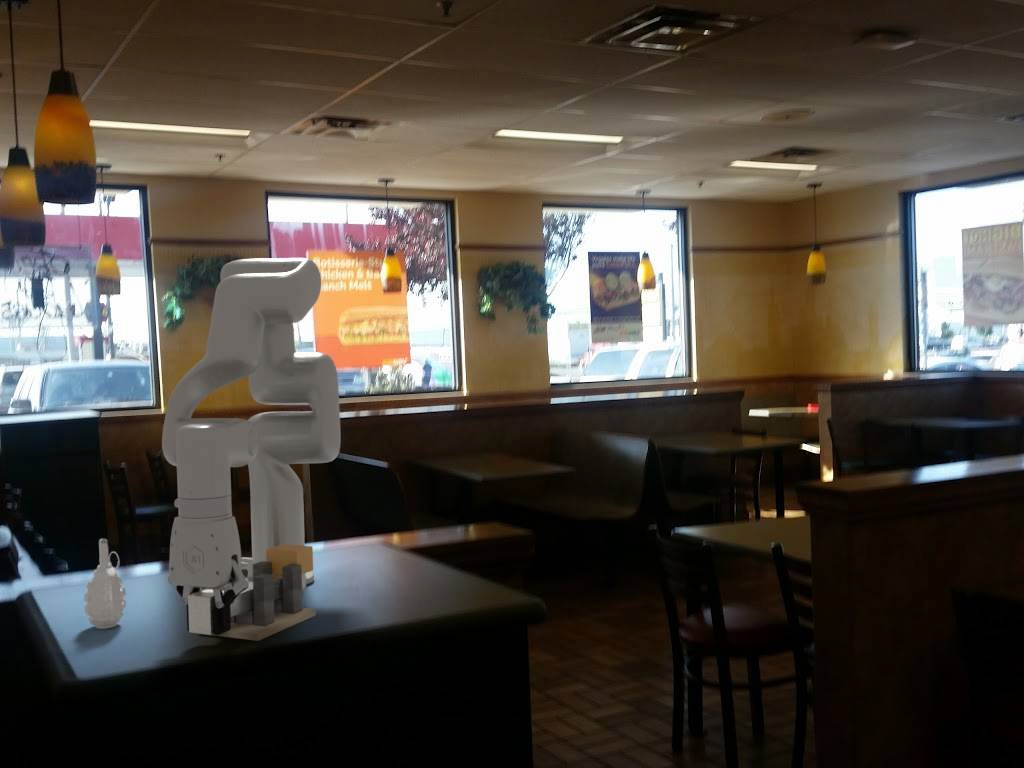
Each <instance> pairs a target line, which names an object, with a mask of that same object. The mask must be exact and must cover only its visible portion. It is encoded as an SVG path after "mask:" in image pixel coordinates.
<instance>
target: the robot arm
mask: <svg viewBox="0 0 1024 768" xmlns="http://www.w3.org/2000/svg"><path fill="white" fill-rule="evenodd" d="M219 276H220V278H219V279H220V282H219V283H218V284H217V286H216V289H215V294H214V300H213V304H212V305H213V306H212V311H211V318H210V324H209V330H208V337H207V341H206V343H207V344H206V349H205V350H206V351H205V353H204V356H203V357H202V358H201V359H200V360H199V361H198V362H197V363H196V364H194V365H193V366H192V367H191V368H189V370H188V371H187V372H186V373H185V374H184V375H183V376H182V378H181V379H180V380H179V382H178V383H177V384H176V386H174V388H173V390H172V392H171V395H170V397H169V398H168V402H167V406H166V412H165V418H164V423H163V427H162V435H161V437H162V438H161V448H162V454H163V456H164V458H165V460H166V461H167V462H168V463H169V464H170V465H172V466H174V467H176V475H177V476H176V477H177V478H176V479H177V480H176V481H177V483H176V484H177V498H176V499H175V500H174V504H173V505H174V507H175V508H178V516H175V517H174V520H173V523H172V528H171V533H170V534H171V535H170V544H169V575H168V577H167V582H168V583H169V584H170V586H172V587H173V588H174V589H175V590H176V591H177V593H178V594H179V595H180V597H181V598H182V599H181V602H182V604H183V605H185V607H186V629H187V632H188V633H190V632H189V610H188V595H190V594H193V593H196V592H199V591H202V590H203V589H212V590H213V593H214V598H215V603H216V607H215V608H213V633H214V635H213V636H215V635H220V634H222V633H225V632H227V631H229V630H230V629H231V609H230V604H233V603H234V600H235V599H236V598H237V596H238V595H239V594H240V593H242V592H243V591H244V590H246V589H247V588H248V587H249V584H248V583H251V582H253V564H255V563H258V562H261V561H265V562H266V549H269V548H272V547H275V546H278V545H281V544H287V545H300V546H306V544H305V540H306V539H305V512H304V511H305V510H304V509H305V508H304V507H305V506H304V504H305V503H304V488H303V483H302V482H301V479H300V478H299V476H298V475H297V473H296V472H295V471H294V470H293V468H292V467H291V466H290V465H294V464H324V463H330V462H333V461H334V460H335V459H336V458H338V455H339V454H340V451H341V450H340V449H341V442H342V441H341V439H342V438H341V436H342V435H341V416H340V397H339V396H340V393H339V392H340V391H339V378H338V371H337V367H336V364H335V362H334V360H333V358H332V357H331V356H329V355H328V354H326V353H324V352H316V351H314V352H313V351H310V352H309V351H306V352H305V351H304V352H298V351H297V350H296V347H295V346H296V345H295V343H296V342H295V328H294V324H297V323H299V322H300V321H302V320H304V318H305V317H306V316H307V314H308V313H310V310H311V309H312V308H313V307H314V306H315V304H316V303H317V302H318V300H319V298H320V294H321V290H322V277H321V276H322V275H321V272H320V269H319V267H318V265H317V263H316V262H314V261H313V260H312V259H310V258H305V257H288V258H287V257H285V258H284V257H282V258H281V257H280V258H277V257H276V258H274V257H273V258H268V257H267V258H266V257H265V258H263V257H261V258H243V259H236V260H232V261H230V262H227V263H225V264H224V265H223V266H222V268H221V270H220V275H219ZM246 377H248V383H249V392H250V395H251V397H252V398H253V400H254V401H255V402H257V403H259V404H263V405H269V406H270V405H271V406H272V405H273V406H275V405H281V406H284V405H288V406H289V405H290V406H294V405H308V406H309V407H310V408H311V410H312V411H267V412H260V413H257V414H254V415H253V416H251V417H249V419H244V418H239V417H238V418H236V417H234V418H233V417H231V418H230V417H229V418H227V417H226V418H224V417H222V418H218V417H210V418H209V417H208V418H206V417H205V418H203V417H200V418H199V417H198V418H197V417H196V418H193V417H192V416H193V413H194V411H195V409H196V408H197V407H198V405H199V404H201V402H202V401H203V400H204V399H206V397H208V396H209V395H210V394H212V393H215V392H216V391H217V390H220V389H223V388H225V387H227V386H229V385H231V384H233V383H235V382H237V381H240V380H242V379H244V378H246ZM245 466H248V474H249V490H250V492H249V493H250V523H251V524H250V525H251V529H250V530H251V557H248V556H247V557H245V556H242V548H241V543H240V542H241V541H240V535H239V529H238V525H237V520H236V516H234V515H233V511H232V509H233V507H232V483H231V482H232V479H231V468H239V467H245ZM242 570H247V575H246V576H245V575H244V573H242V572H243V571H242ZM272 575H274V574H272ZM314 580H315V574H314V572H313V571H310V572H307V573H306V586H307V585H309V584H311V583H312V582H314ZM231 583H234V586H233V587H232V585H231ZM223 590H224V595H223V593H222V591H223Z"/></svg>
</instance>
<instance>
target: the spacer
mask: <svg viewBox="0 0 1024 768" xmlns="http://www.w3.org/2000/svg"><path fill="white" fill-rule="evenodd" d="M313 549H314V548H313V546H312V545H305V546H300V545H287V544H281V545H278V546H275V547H272V548H269V549H266V562H272V574H278V575H282V567H283V566H286V565H289V564H300V565H301V570H302V574H305V573H307V572H310V571H311V572H313V571H314V558H313V557H314V555H313V554H314V552H313Z"/></svg>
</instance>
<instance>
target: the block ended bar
mask: <svg viewBox="0 0 1024 768" xmlns="http://www.w3.org/2000/svg"><path fill="white" fill-rule="evenodd" d="M248 584H249V587H248V588H247V589H246V590H244V591H243V592H242V593H240V594H239V595H238V596H237V598H236V599H235V600H234V603H233V604H230V609H231V617H233V616H235V615H238V614H240V613H243V612H245V611H248V610H250V609H253V608H254V599H253V582H251V583H248ZM273 588H274V600H276V599H278V598H281V597H283V578H282V575H278V574H274V575H273ZM306 588H307V585H306V573H305V574H302V590H303V589H306ZM222 593H223V595H224V591H223V590H222ZM215 607H216V603H215V598H214V593H213V589H208V588H204V589H202V591H199V592H196V593H193V594H190V595H188V610H189V632H188V633H192V634H199V635H207V636H213V635H212V634H214V633H213V608H215Z"/></svg>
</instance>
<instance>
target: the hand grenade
mask: <svg viewBox="0 0 1024 768" xmlns="http://www.w3.org/2000/svg"><path fill="white" fill-rule="evenodd" d="M98 550H99V551H98V552H99V559H98V561H99V564H98V565H97V567H96V569H95V570H94V571H93V577H92V578H90V580H89V581H88V582H87V584H86V589H87V591H86V592H85V593H84V597H83V601H84V602H86V605H85V606H84V613H85V615H87V616H89V617H88V619H87V621H88V622H89V624H91V625H93V626H95V628H96V629H99V630H101V629H103V630H104V629H111V628H114V627H116V626H117V625H118V622H120V621H121V619H122V618H123V616H124V613H123V612H124V609H125V608H126V606H127V600H126V599H124V598H125V596H126V594H127V593H126V589H125V587H124V586H123V585H122V584H123V583H124V582H123V580H122V577H121V576H119V574H118V573H117V571H116V570H118V569H119V567H120V563H121V562H120V557H119V555H118V553H117V552H116V551H111V552H110V553H109V545H108V539H107V538H100V539H99V540H98ZM112 554H115V555H116V557H117V560H118V561H117V564H116V567H114V565H112V561H111V555H112Z"/></svg>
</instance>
